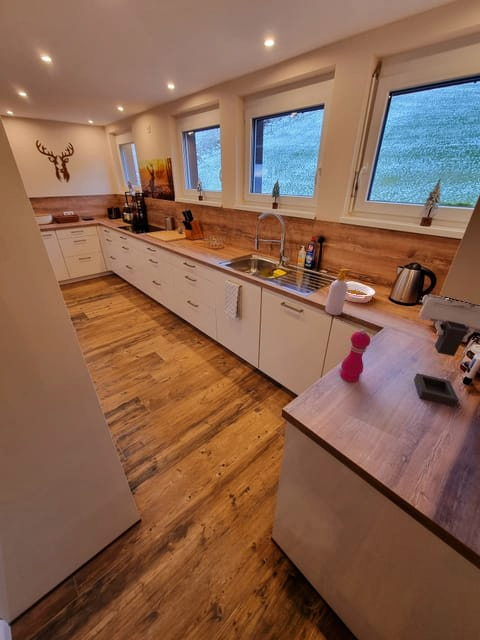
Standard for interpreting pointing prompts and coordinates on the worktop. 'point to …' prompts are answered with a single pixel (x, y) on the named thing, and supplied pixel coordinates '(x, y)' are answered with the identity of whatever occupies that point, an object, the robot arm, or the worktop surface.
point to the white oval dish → (361, 288)
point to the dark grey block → (451, 338)
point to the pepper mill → (355, 357)
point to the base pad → (435, 390)
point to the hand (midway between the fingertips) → (451, 338)
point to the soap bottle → (337, 294)
